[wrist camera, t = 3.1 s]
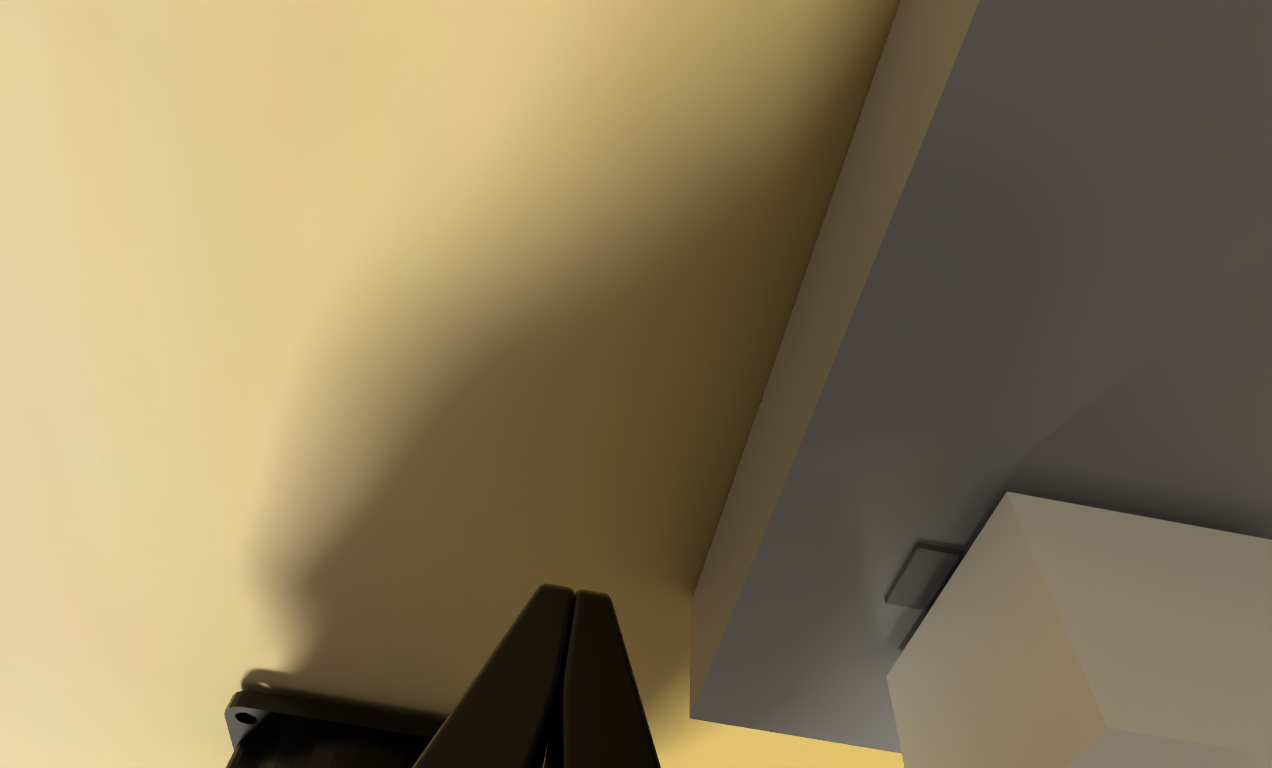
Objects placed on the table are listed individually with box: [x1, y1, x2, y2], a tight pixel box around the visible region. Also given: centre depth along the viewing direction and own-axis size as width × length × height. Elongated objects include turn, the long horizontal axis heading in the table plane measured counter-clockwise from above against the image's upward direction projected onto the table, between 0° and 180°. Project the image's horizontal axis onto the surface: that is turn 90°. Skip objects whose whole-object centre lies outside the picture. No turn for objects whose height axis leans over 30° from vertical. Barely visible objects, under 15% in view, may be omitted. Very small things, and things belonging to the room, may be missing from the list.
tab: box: [887, 492, 1272, 768], centre depth 9 cm, size 4×4×4 cm
